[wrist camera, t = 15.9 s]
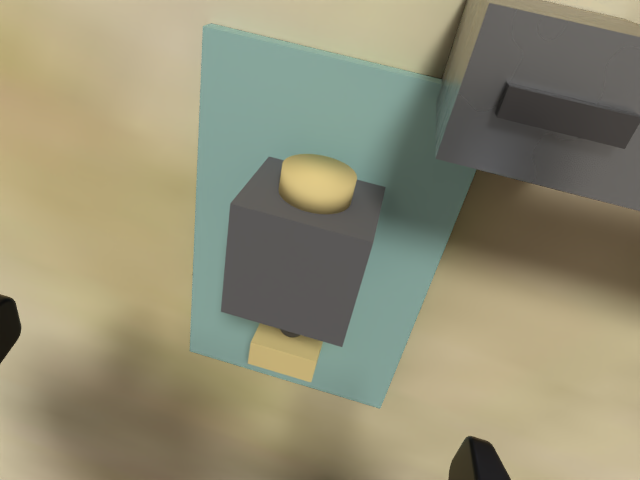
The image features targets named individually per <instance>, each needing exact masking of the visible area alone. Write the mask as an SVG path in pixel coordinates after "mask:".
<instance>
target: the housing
mask: <svg viewBox="0 0 640 480" xmlns="http://www.w3.org/2000/svg"><path fill="white" fill-rule="evenodd" d="M435 159H438V160H442V161H446V162H450V163H454V164H458V165H462V166H466V167H470V168H474V169H477V170H481V171H485V172H489V173H493V174H497V175H501V176H505V177H509V178H513V179H516V180H520V181H524V182H528V183H532V184H536V185H540V186H544V187H548V188H552V189H556V190H559V191H563V192H567V193H571V194H575V195H579V196H583V197H587V198H591V199H595V200H598V201H602V202H606V203H610V204H614V205H618V206H622V207H626V208H630V209H634V210H638V211H640V25H639V24H637V23H634V22H631V21H629V20H626V19H622V18H618V17H613V16H609V15H604V14H600V13H596V12H591V11H587V10H582V9H578V8H573V7H569V6H564V5H560V4H556V3H551V2H547V1H542V0H467V2H466V5H465V8H464V11H463V15H462V18H461V21H460V24H459V27H458V30H457V33H456V36H455V40H454V43H453V46H452V49H451V52H450V55H449V58H448V61H447V64H446V68H445V71H444V74H443V77H442V85H441V88H440V91H439V95H438V98H437V101H436V155H435Z"/></svg>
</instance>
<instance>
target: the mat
mask: <svg viewBox="0 0 640 480" xmlns="http://www.w3.org/2000/svg"><path fill="white" fill-rule="evenodd" d="M441 85H442V79H439V78H434V77H430V76H426V75H422V74H418V73H414V72H410V71H405V70H401V69H397V68H393V67H389V66H385V65H381V64H377V63H372V62H368V61H364V60H360V59H356V58H352V57H348V56H344V55H339V54H335V53H331V52H327V51H323V50H319V49H315V48H311V47H306V46H302V45H298V44H294V43H290V42H286V41H282V40H277V39H273V38H269V37H265V36H261V35H257V34H253V33H249V32H244V31H240V30H236V29H232V28H228V27H224V26H220V25H216V24H208V25H205V26H203V40H202V64H201V89H200V113H199V138H198V162H197V187H196V211H195V235H194V260H193V284H192V309H191V333H190V351H191V352H194V353H198V354H201V355H204V356H208V357H211V358H214V359H217V360H221V361H224V362H227V363H231V364H234V365H237V366H241V367H244V368H247V369H251V370H254V371H257V372H261V373H264V374H267V375H271V376H274V377H277V378H280V379H284V380H287V381H290V382H294V383H297V384H300V385H304V386H307V387H310V388H314V389H317V390H320V391H324V392H327V393H330V394H334V395H337V396H340V397H343V398H347V399H350V400H353V401H357V402H360V403H363V404H367V405H370V406H373V407H377V408H381V405H382V403H383V400H384V398H385V395H386V393H387V390H388V388H389V386H390V383H391V381H392V378H393V376H394V373H395V371H396V368H397V366H398V363H399V361H400V358H401V356H402V353H403V351H404V348H405V346H406V343H407V341H408V338H409V336H410V333H411V331H412V328H413V326H414V323H415V321H416V319H417V316H418V314H419V311H420V309H421V306H422V304H423V301H424V299H425V296H426V294H427V291H428V289H429V286H430V284H431V281H432V279H433V276H434V274H435V271H436V269H437V266H438V264H439V261H440V259H441V256H442V254H443V252H444V249H445V247H446V244H447V242H448V239H449V237H450V234H451V232H452V229H453V227H454V224H455V222H456V219H457V217H458V214H459V212H460V209H461V207H462V204H463V202H464V199H465V197H466V194H467V192H468V189H469V187H470V184H471V182H472V180H473V177H474V175H475V172H476V170H477V169H474V168H470V167H466V166H462V165H458V164H454V163H450V162H446V161H442V160H438V159H435V155H436V101H437V98H438V95H439V91H440V88H441ZM297 154H316V155H323V156H327V157H331V158H334V159H336V160H339V161H341V162H343V163H345V164H347V165H348V166H349V167H351V168H352V169H353V170H354V171H355V173H356V175H357V180H361V181H364V182H368V183H372V184H376V185H380V186H383V187H386V188H385V193H384V197H383V202H382V206H381V211H380V215H379V220H378V224H377V229H376V233H375V238H374V242H373V246H372V249H371V252H370V256H369V259H368V262H367V266H366V269H365V272H364V276H363V279H362V283H361V286H360V289H359V293H358V296H357V299H356V303H355V306H354V309H353V313H352V316H351V319H350V323H349V326H348V330H347V333H346V336H345V340H344V343H343V346H342V347H340V346H336V345H333V344H329V343H326V342H323V343H322V347H321V351H320V354H319V358H318V361H317V364H316V368H315V371H314V375H313V378H312V381H311V382H307V381H304V380H301V379H297V378H294V377H291V376H287V375H284V374H281V373H277V372H274V371H271V370H267V369H264V368H261V367H258V366H254V365H251V364H248V358H249V351H250V344H251V341H252V338H253V336H254V334H255V332H256V330H257V328H258V326H259V324H260V323H258V322H254V321H251V320H247V319H244V318H241V317H237V316H234V315H230V314H227V313H224V312H221V303H222V292H223V280H224V269H225V257H226V246H227V235H228V223H229V212H230V203H231V202H232V201H233V200H234V198H235V197H236V196H237V195H238V193H239V192H240V191H241V190H242V189H243V187H244V186H245V185H246V184H247V182H248V181H249V180H250V179H251V178H252V176H253V175H254V174H255V173H256V172H257V170H258V169H259V168H260V167H261V165H262V164H263V163H264V162H265V161H266V159H267V158H268V157H273V158H277V159H281V160H285V159H286V158H288V157H290V156H293V155H297Z"/></svg>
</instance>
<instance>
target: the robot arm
mask: <svg viewBox="0 0 640 480" xmlns="http://www.w3.org/2000/svg"><path fill="white" fill-rule="evenodd" d="M20 333H21V323H20V319H19V315H18V311H17V306H16V303H15V301H14V300H13V299H12V298H10V297H7V296H4V295H1V294H0V363H1V362H2V361H3V359H4V358H5V356H6V355H7V354H8V352H9V351H10V350H11V348H12V347H13V345H14V344H15V343H16V341H17V340H18V338H19V336H20ZM449 480H511V479H510V477H509V475H508V473H507V471H506V469H505V468H504V466H503V464H502V462H501V460H500V458H499V456H498V454H497V453H496V451H495V449H494V447H493V445H492V444H491V443H490V442H488V441H486V440H482V439H479V438H476V437H473V436H468V437H466V439H465V440H464V441H463V443H462V445H461V446H460V448H459V450H458V451H457V453H456V455H455V456H454V458H453V460H452V462H451V466H450V470H449Z"/></svg>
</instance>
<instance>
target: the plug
mask: <svg viewBox="0 0 640 480" xmlns="http://www.w3.org/2000/svg"><path fill="white" fill-rule="evenodd" d="M385 188H386V187H383V186H380V185H376V184H372V183H368V182H364V181H361V180H357V175H356V173H355V171H354V170H353V169H352V168H351V167H349V166H348V165H347V164H345V163H343V162H341V161H339V160H336V159H334V158H331V157H327V156H323V155H316V154H297V155H293V156H290V157H288V158H286V159H285V160H281V159H277V158H273V157H268V158H267V159H266V161H265V162H264V163H263V164H262V165H261V167H260V168H259V169H258V170H257V172H256V173H255V174H254V175H253V176H252V178H251V179H250V180H249V181H248V182H247V184H246V185H245V186H244V187H243V189H242V190H241V191H240V192H239V193H238V195H237V196H236V197H235V198H234V200H233V201H232V202H231V203H230V212H229V223H228V235H227V246H226V257H225V269H224V280H223V292H222V303H221V312H224V313H227V314H230V315H234V316H237V317H241V318H244V319H247V320H251V321H254V322H258V323H260V324H259V326H258V328H257V330H256V332H255V334H254V336H253V338H252V341H251V344H250V351H249V358H248V364H251V365H254V366H258V367H261V368H264V369H267V370H271V371H274V372H277V373H281V374H284V375H287V376H291V377H294V378H297V379H301V380H304V381H307V382H311V381H312V378H313V375H314V371H315V368H316V364H317V361H318V358H319V354H320V351H321V347H322V343H323V342H326V343H329V344H333V345H336V346H340V347H342V346H343V343H344V340H345V336H346V333H347V330H348V326H349V323H350V319H351V316H352V313H353V309H354V306H355V303H356V299H357V296H358V293H359V289H360V286H361V283H362V279H363V276H364V272H365V269H366V266H367V262H368V259H369V256H370V252H371V249H372V246H373V242H374V238H375V233H376V229H377V224H378V220H379V215H380V211H381V206H382V202H383V197H384V193H385Z"/></svg>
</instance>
